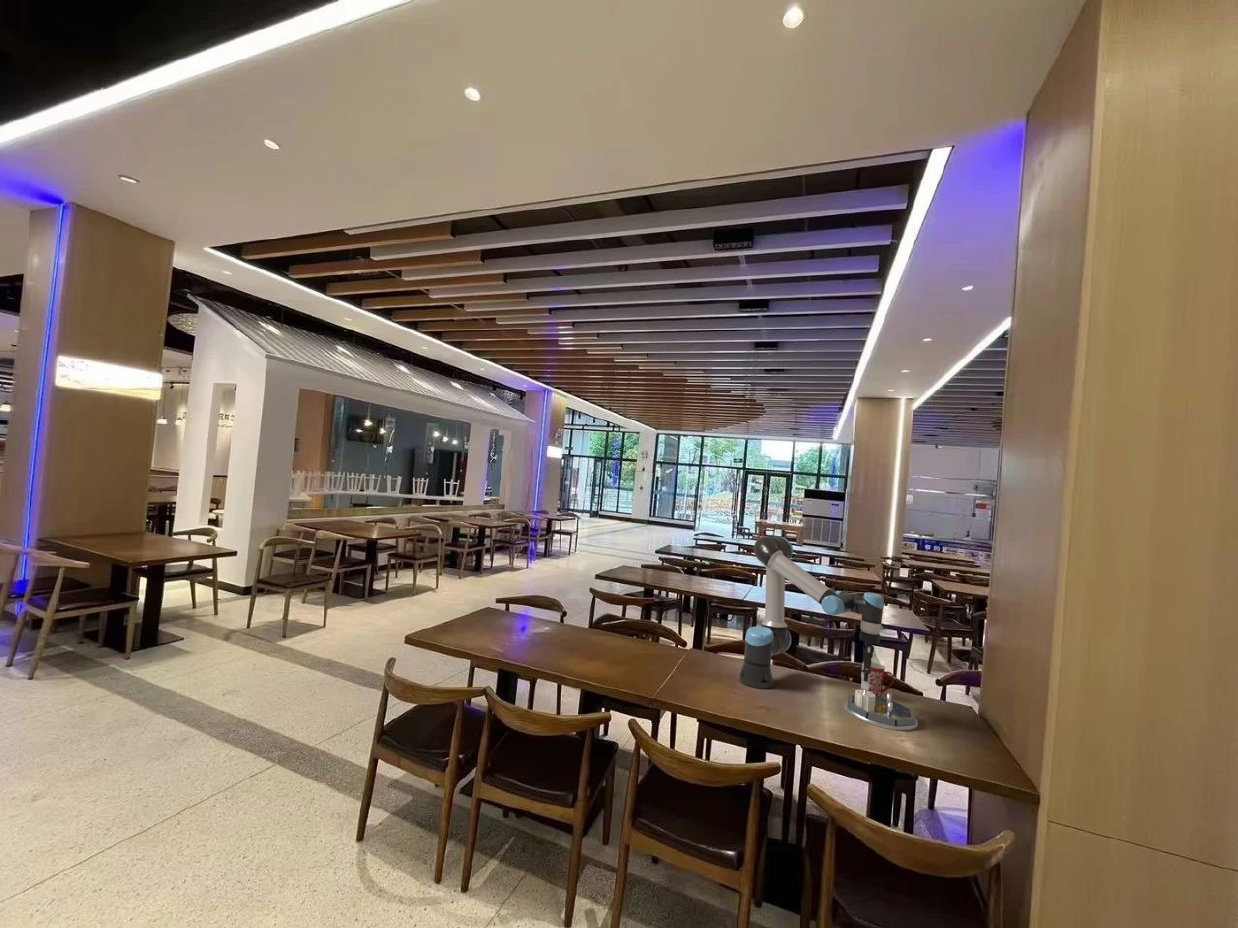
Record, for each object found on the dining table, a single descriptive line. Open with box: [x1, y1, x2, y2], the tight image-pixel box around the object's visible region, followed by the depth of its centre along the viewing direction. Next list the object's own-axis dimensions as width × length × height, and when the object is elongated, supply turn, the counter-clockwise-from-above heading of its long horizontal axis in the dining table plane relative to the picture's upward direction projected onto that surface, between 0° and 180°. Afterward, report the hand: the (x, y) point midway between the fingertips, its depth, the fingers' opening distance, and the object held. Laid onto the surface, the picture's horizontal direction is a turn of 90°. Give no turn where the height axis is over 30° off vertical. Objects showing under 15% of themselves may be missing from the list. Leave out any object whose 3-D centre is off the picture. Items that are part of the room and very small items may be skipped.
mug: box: [862, 661, 895, 697], centre depth 232 cm, size 13×9×14 cm
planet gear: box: [854, 689, 875, 712], centre depth 214 cm, size 7×7×6 cm
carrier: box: [844, 690, 919, 732], centre depth 212 cm, size 26×26×8 cm
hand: (864, 683), depth 215 cm, fingers open, 13 cm apart
